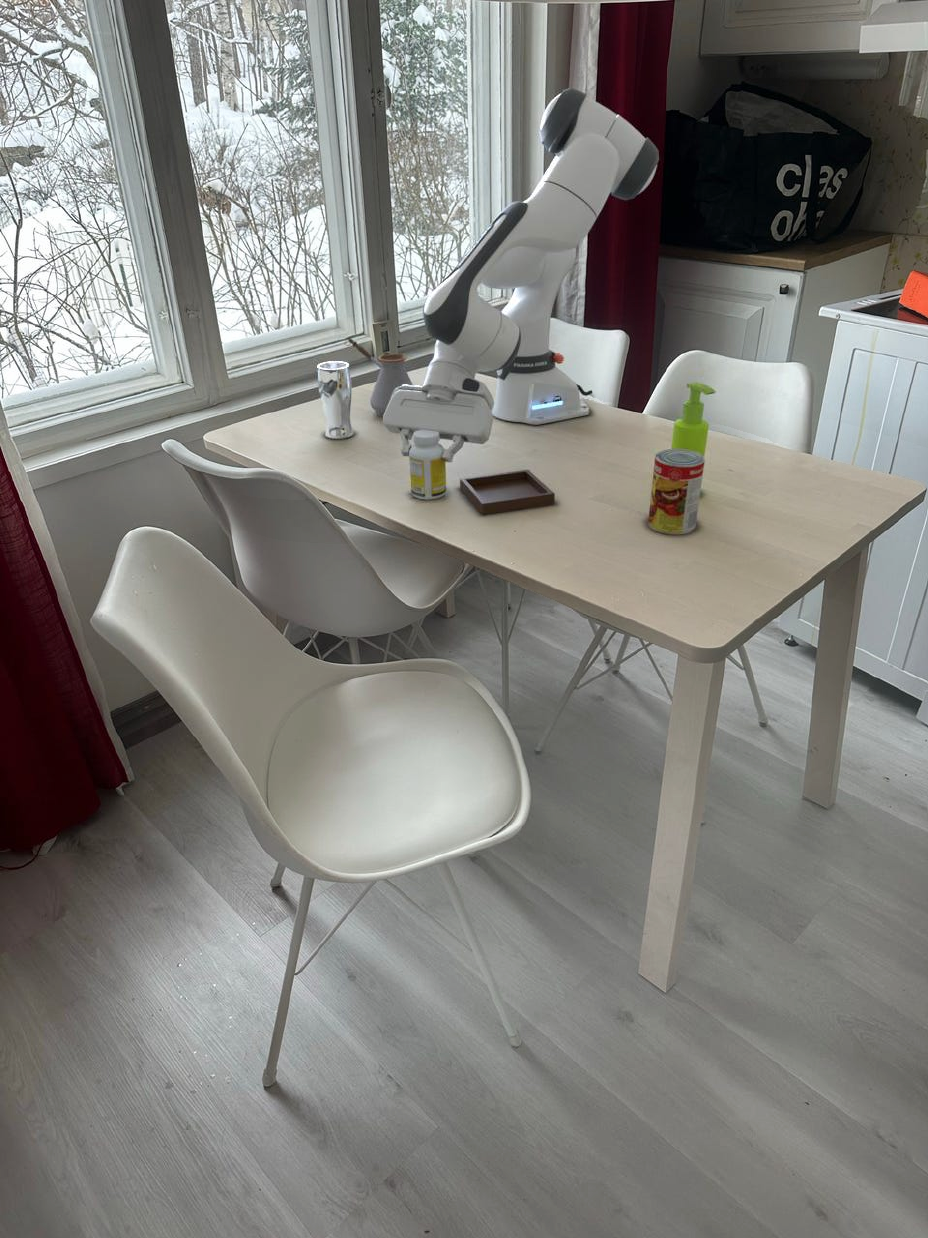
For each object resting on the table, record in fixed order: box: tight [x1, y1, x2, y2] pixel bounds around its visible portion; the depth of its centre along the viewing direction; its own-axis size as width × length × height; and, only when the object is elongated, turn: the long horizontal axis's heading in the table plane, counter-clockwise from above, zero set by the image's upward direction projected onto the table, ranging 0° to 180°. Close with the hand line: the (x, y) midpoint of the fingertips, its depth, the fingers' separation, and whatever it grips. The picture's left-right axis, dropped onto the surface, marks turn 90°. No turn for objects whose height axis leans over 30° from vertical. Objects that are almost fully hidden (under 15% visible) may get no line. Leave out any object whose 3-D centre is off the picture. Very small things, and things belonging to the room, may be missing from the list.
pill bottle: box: [408, 429, 447, 501], centre depth 155 cm, size 6×6×12 cm
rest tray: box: [459, 469, 555, 516], centre depth 156 cm, size 14×13×2 cm
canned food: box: [647, 448, 706, 535], centre depth 142 cm, size 8×8×12 cm
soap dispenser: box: [670, 381, 717, 457], centre depth 151 cm, size 6×7×20 cm
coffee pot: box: [344, 337, 414, 417], centre depth 199 cm, size 21×12×15 cm, turn 47°
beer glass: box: [316, 361, 354, 440], centre depth 184 cm, size 7×7×15 cm
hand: (426, 457), depth 154 cm, fingers closed on pill bottle, 7 cm apart
